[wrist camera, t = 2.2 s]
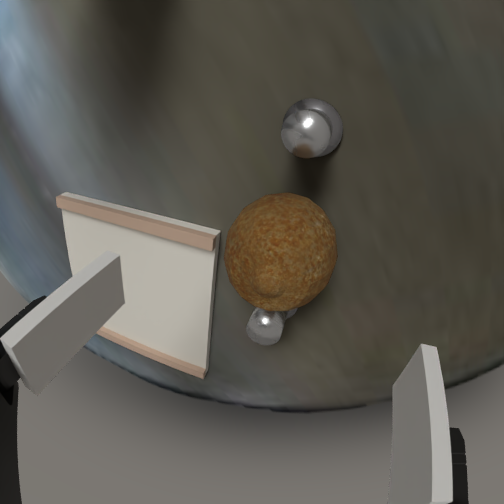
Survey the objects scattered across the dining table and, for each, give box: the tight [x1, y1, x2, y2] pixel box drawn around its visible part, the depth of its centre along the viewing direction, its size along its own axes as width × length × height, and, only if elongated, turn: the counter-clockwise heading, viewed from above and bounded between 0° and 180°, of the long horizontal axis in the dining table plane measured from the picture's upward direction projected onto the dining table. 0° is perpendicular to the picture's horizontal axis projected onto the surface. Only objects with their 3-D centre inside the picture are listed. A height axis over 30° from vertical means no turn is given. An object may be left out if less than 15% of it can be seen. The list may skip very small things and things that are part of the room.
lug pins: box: [246, 99, 343, 345], centre depth 19 cm, size 4×17×4 cm, turn 171°
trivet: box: [56, 192, 221, 379], centre depth 28 cm, size 16×16×1 cm
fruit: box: [224, 193, 338, 311], centre depth 18 cm, size 6×6×8 cm
